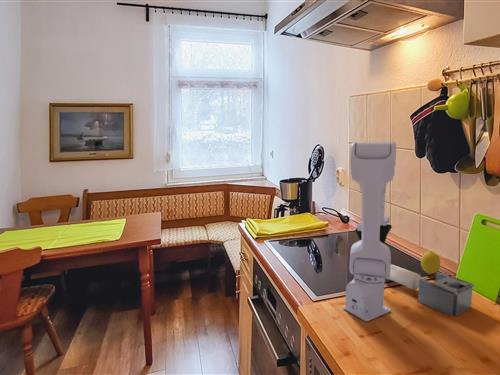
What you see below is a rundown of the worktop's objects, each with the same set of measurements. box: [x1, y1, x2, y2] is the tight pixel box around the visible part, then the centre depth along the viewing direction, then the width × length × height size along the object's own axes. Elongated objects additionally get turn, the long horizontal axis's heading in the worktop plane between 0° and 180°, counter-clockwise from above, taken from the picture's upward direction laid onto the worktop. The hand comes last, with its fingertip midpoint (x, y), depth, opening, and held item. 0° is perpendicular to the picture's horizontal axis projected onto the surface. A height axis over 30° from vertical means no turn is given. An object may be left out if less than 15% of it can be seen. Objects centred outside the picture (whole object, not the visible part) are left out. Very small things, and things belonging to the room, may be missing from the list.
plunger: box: [447, 280, 460, 289], centre depth 86 cm, size 3×3×2 cm
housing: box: [417, 271, 476, 317], centre depth 88 cm, size 10×9×6 cm
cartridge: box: [385, 263, 422, 291], centre depth 100 cm, size 10×5×5 cm, turn 31°
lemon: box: [420, 250, 441, 276], centre depth 107 cm, size 6×6×8 cm
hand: (373, 249), depth 104 cm, fingers open, 7 cm apart
